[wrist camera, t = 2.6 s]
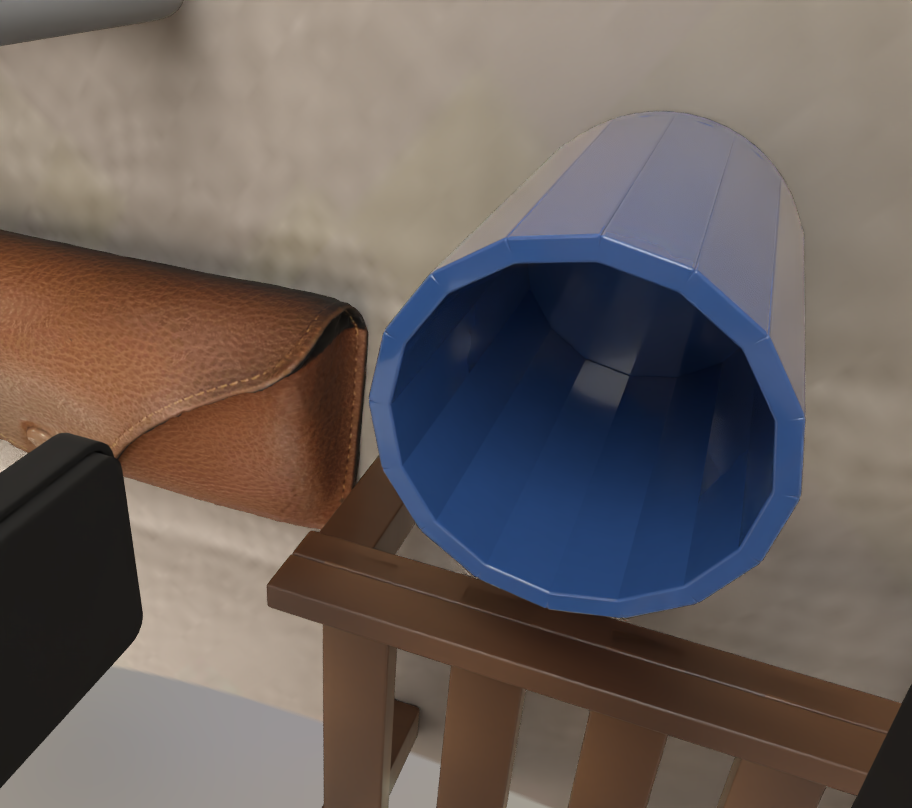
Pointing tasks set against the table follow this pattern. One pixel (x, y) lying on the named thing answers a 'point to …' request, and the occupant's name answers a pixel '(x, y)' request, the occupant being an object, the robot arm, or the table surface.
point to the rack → (545, 683)
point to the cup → (608, 374)
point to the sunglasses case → (184, 376)
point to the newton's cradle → (75, 16)
